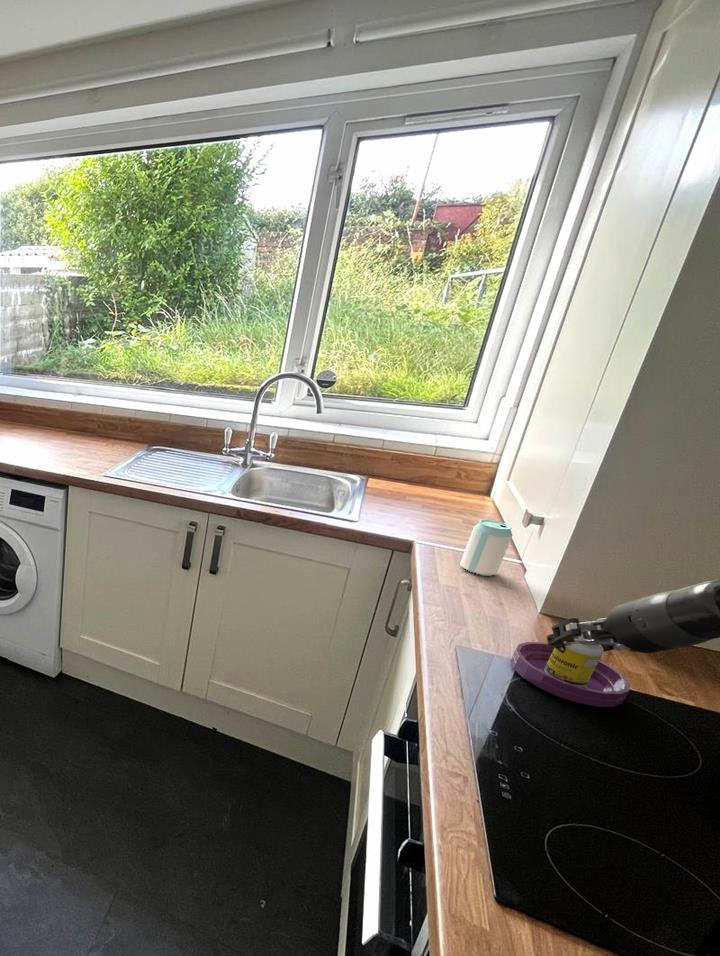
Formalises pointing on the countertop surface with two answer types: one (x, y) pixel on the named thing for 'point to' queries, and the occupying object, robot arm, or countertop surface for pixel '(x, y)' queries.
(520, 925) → the countertop surface
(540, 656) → the dish
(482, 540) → the can
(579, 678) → the supplement bottle
